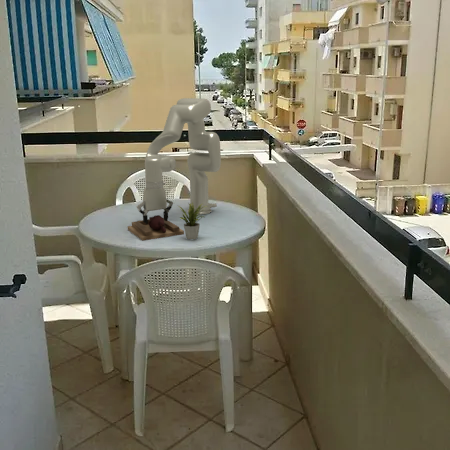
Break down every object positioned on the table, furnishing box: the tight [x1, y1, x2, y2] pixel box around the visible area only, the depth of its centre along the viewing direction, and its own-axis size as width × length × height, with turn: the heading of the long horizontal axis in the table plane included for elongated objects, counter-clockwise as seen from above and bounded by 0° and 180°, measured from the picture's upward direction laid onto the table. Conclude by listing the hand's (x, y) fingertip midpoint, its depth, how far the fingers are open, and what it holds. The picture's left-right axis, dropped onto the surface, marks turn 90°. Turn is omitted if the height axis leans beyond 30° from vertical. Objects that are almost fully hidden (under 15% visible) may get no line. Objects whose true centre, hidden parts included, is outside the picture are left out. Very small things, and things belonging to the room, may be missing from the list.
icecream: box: [149, 214, 166, 233], centre depth 232 cm, size 7×7×15 cm
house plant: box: [178, 203, 206, 240], centre depth 223 cm, size 14×14×16 cm
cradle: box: [127, 217, 185, 242], centre depth 234 cm, size 20×20×4 cm
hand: (155, 221), depth 233 cm, fingers open, 9 cm apart
